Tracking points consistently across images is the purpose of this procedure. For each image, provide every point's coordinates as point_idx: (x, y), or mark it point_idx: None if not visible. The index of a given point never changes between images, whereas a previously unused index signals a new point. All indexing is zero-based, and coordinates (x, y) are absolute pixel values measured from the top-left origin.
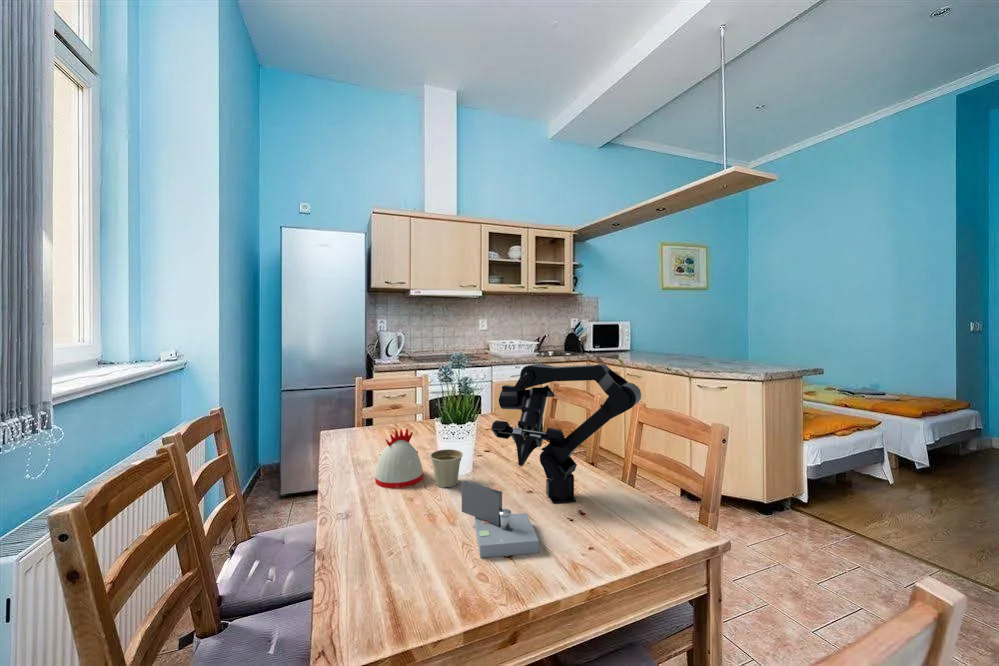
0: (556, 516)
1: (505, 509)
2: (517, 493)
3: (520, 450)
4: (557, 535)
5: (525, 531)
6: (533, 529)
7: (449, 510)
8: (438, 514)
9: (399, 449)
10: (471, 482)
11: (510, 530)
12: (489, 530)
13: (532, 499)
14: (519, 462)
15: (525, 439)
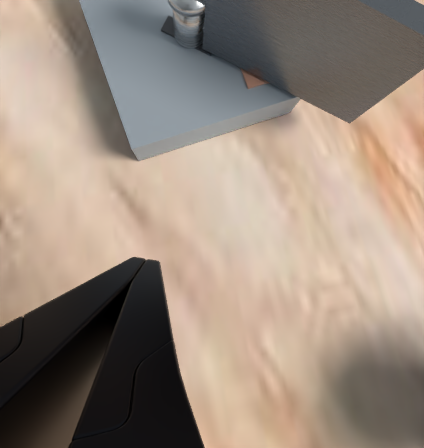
0: (39, 227)
1: (191, 3)
2: (201, 385)
3: (120, 332)
4: (33, 105)
5: (119, 24)
6: (94, 39)
7: (397, 203)
8: (419, 172)
9: None
10: (406, 25)
11: (168, 17)
12: None
13: None
14: (150, 265)
15: None
